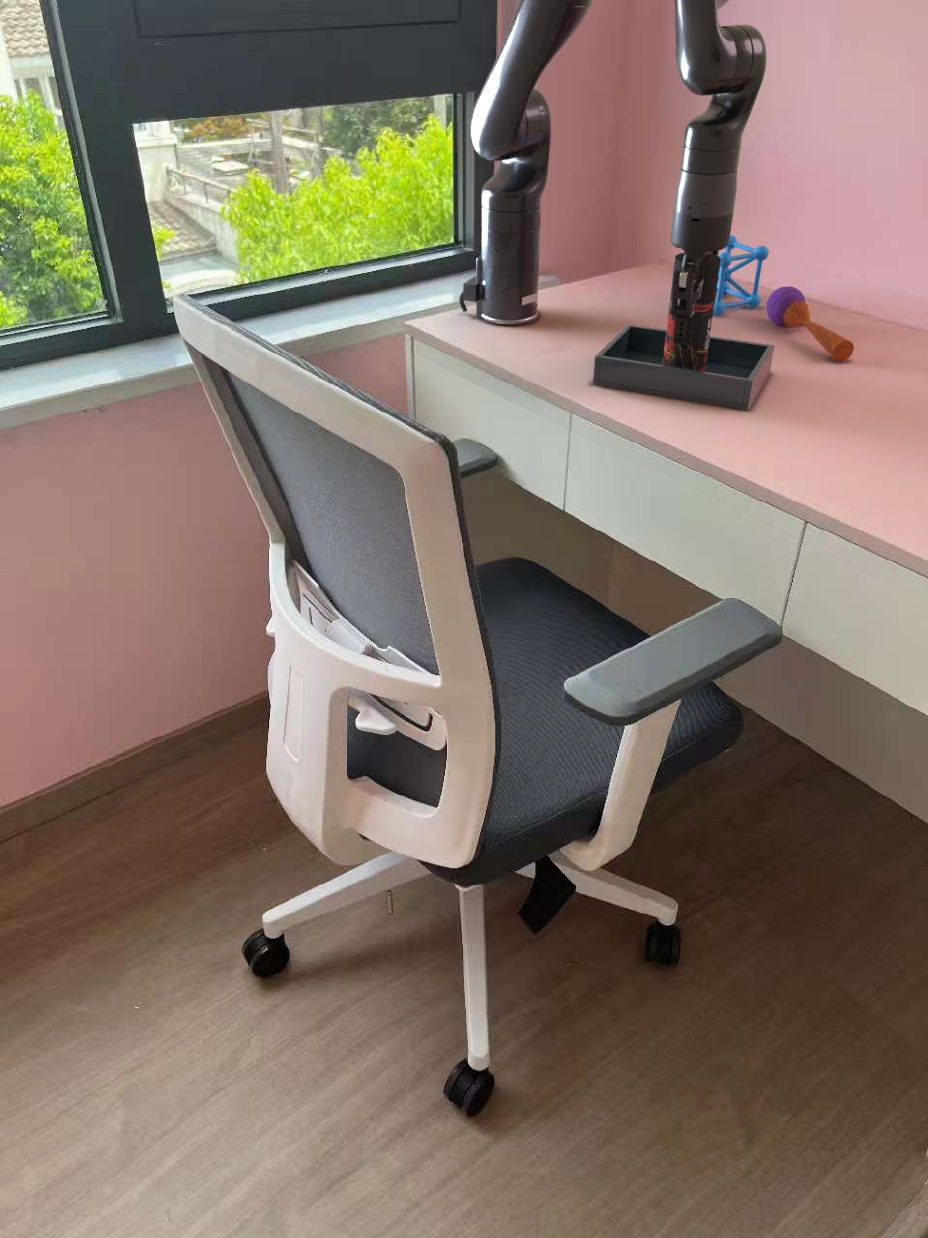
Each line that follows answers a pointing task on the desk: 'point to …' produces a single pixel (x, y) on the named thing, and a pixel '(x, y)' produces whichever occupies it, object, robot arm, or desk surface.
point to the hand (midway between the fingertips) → (687, 335)
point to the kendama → (805, 321)
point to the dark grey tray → (723, 383)
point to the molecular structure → (725, 273)
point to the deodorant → (694, 319)
